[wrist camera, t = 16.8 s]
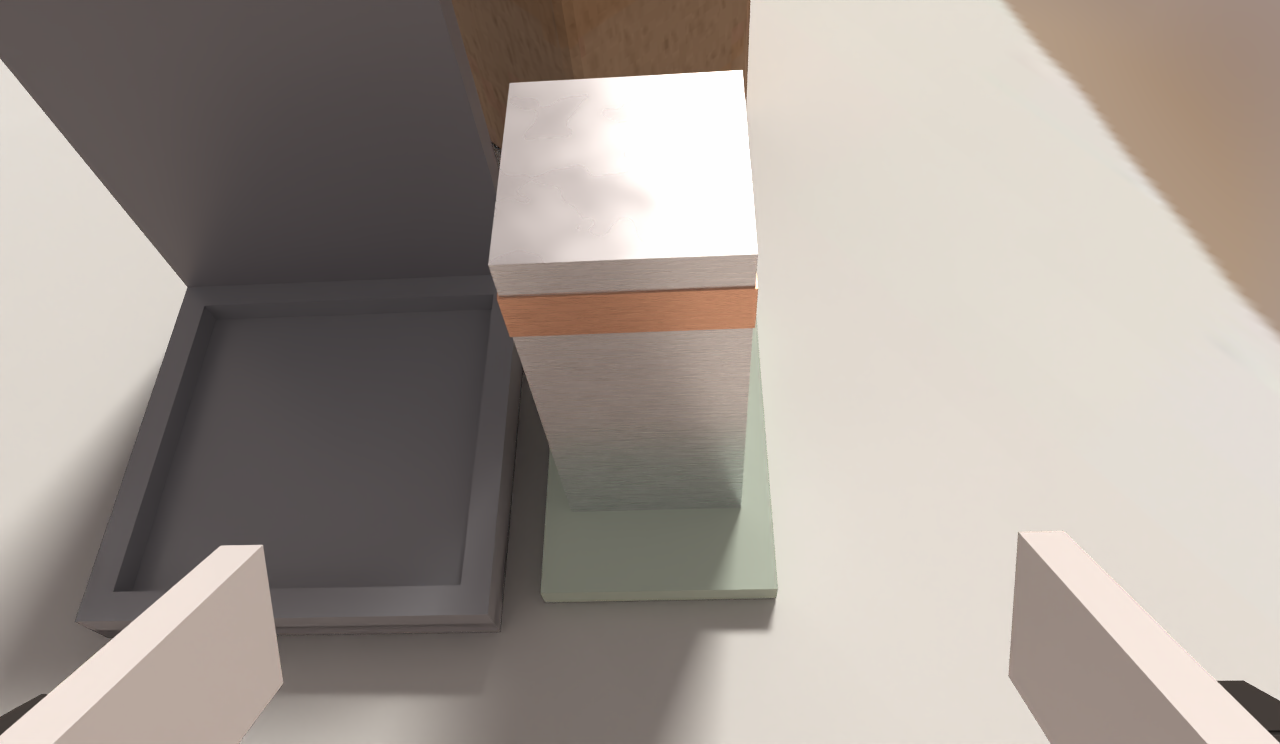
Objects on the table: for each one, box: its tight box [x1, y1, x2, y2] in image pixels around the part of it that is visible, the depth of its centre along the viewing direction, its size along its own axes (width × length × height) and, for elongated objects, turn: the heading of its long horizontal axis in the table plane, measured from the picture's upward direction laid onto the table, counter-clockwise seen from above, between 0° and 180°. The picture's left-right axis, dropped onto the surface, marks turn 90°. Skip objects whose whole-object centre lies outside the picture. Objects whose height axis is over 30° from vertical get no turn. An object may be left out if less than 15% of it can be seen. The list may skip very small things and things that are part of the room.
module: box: [488, 70, 758, 512], centre depth 27 cm, size 6×6×14 cm
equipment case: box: [0, 0, 523, 638], centre depth 29 cm, size 14×15×16 cm
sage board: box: [541, 320, 778, 602], centre depth 34 cm, size 8×12×1 cm, turn 0°
